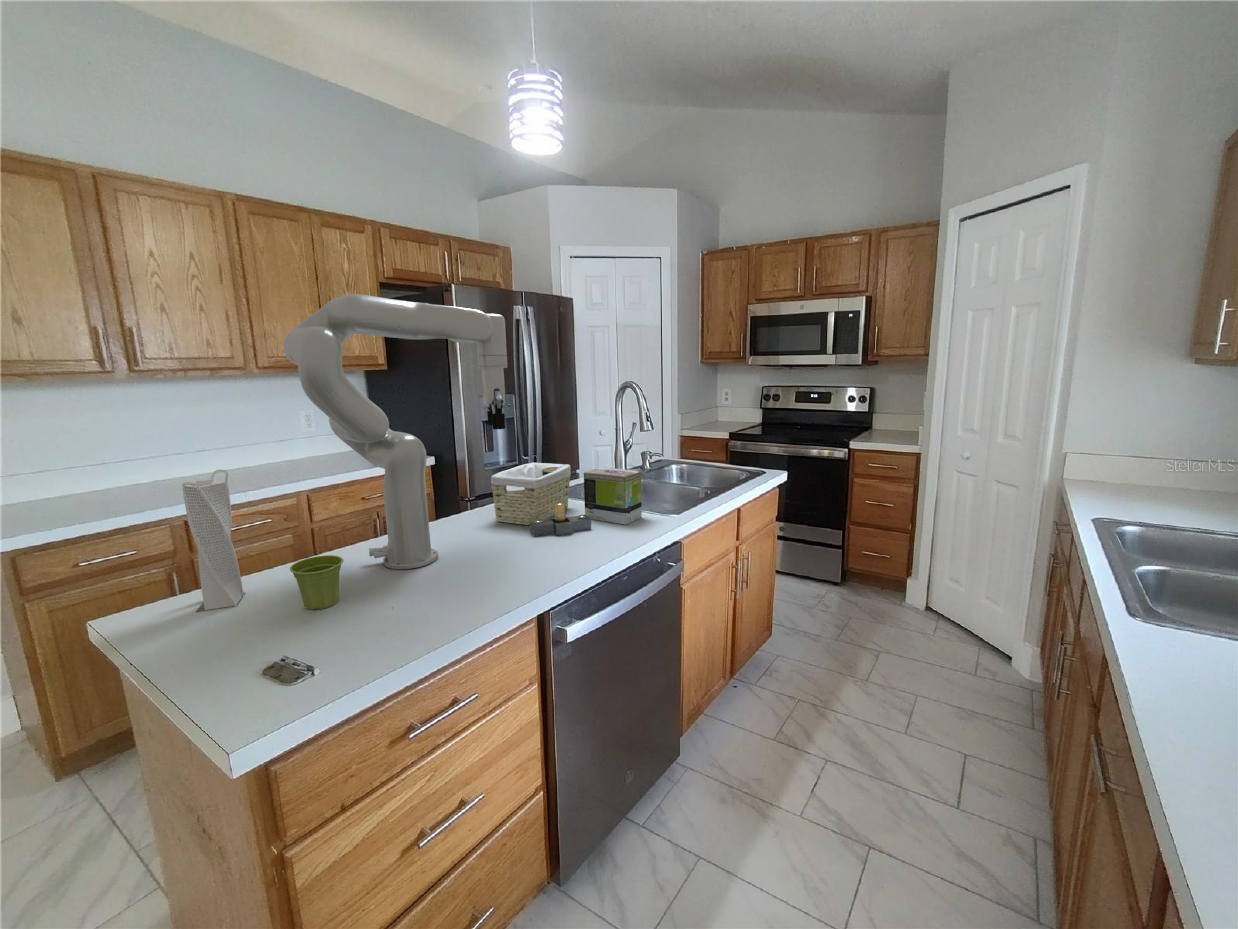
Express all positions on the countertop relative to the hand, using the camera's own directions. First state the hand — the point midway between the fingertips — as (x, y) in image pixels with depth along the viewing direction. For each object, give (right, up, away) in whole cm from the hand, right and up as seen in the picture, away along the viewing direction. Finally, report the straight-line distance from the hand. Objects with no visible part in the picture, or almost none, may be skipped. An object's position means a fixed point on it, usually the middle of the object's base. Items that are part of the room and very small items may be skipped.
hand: (496, 426), depth 149 cm
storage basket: (+7, -26, +24) cm, 37 cm away
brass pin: (+16, -29, +8) cm, 34 cm away
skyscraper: (-48, -39, -35) cm, 71 cm away
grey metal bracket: (+16, -29, +8) cm, 34 cm away
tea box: (+31, -27, +20) cm, 46 cm away
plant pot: (-28, -39, -36) cm, 60 cm away
